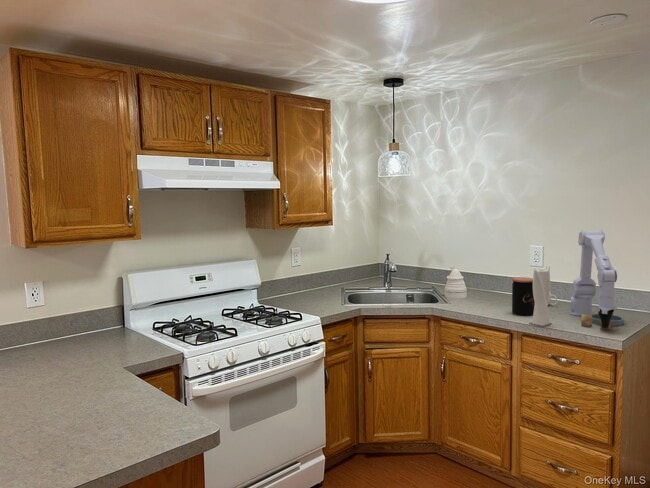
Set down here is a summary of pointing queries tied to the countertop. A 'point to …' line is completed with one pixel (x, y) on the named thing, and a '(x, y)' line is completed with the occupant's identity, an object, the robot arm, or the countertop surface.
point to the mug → (550, 299)
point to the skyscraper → (541, 296)
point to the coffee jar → (522, 296)
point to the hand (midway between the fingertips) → (605, 326)
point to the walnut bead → (606, 328)
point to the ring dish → (614, 320)
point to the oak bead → (586, 320)
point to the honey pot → (455, 285)
